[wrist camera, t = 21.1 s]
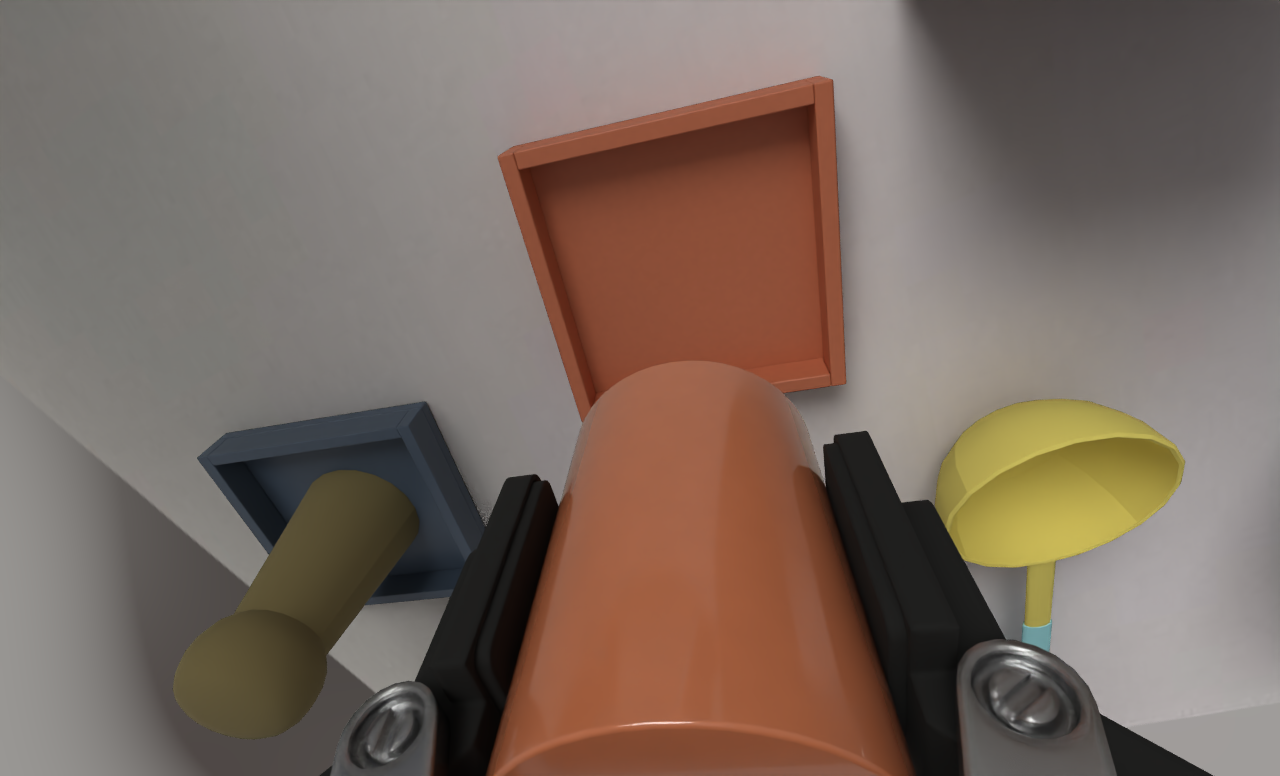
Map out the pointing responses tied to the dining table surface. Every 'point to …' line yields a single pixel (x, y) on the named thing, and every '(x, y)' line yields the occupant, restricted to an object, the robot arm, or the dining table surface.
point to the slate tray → (368, 442)
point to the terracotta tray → (691, 239)
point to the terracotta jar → (697, 600)
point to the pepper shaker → (296, 608)
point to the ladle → (1051, 490)
